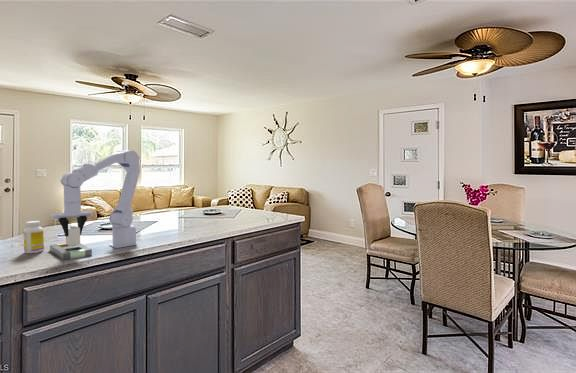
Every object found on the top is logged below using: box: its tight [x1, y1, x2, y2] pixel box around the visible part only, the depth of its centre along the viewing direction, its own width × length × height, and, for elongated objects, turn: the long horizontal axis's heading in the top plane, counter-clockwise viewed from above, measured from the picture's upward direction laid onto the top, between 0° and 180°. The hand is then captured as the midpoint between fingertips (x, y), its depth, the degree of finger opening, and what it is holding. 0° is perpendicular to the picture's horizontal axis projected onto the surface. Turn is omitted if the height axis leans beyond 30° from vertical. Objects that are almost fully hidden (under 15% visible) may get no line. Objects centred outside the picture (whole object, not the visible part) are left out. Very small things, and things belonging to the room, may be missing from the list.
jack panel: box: [49, 242, 93, 261], centre depth 139 cm, size 10×20×2 cm, turn 48°
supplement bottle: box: [23, 220, 45, 254], centre depth 140 cm, size 7×7×13 cm
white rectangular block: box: [65, 225, 81, 246], centre depth 136 cm, size 4×4×8 cm
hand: (73, 235), depth 136 cm, fingers closed on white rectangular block, 4 cm apart
